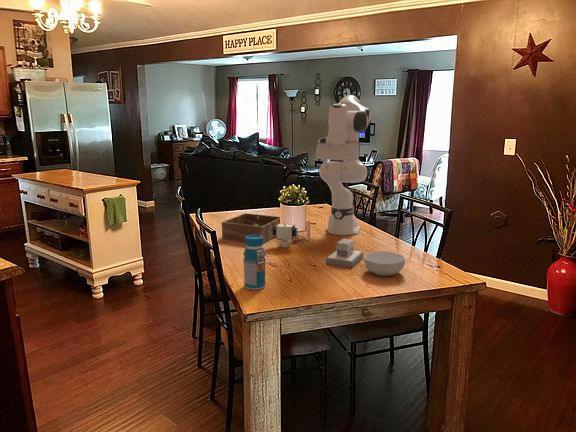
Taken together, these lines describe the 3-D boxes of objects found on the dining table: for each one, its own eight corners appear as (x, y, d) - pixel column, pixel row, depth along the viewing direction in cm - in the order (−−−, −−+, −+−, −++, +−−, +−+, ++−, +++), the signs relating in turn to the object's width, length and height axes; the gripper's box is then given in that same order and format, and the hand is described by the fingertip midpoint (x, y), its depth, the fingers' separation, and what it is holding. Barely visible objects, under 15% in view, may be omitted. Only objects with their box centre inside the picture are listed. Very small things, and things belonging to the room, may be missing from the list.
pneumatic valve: (295, 248, 232) (295, 225, 229) (272, 247, 234) (272, 223, 231) (297, 245, 237) (297, 222, 234) (275, 244, 239) (274, 221, 237)
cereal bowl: (372, 263, 210) (373, 248, 208) (409, 270, 202) (410, 254, 200) (357, 275, 196) (358, 259, 194) (396, 283, 187) (397, 266, 186)
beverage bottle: (243, 290, 179) (242, 239, 175) (244, 282, 188) (243, 233, 183) (265, 290, 180) (265, 239, 175) (265, 282, 188) (265, 233, 183)
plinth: (338, 253, 224) (338, 247, 223) (362, 257, 219) (363, 251, 218) (325, 263, 210) (326, 257, 209) (351, 267, 205) (352, 261, 204)
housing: (342, 251, 218) (343, 238, 217) (353, 252, 216) (353, 239, 215) (336, 255, 211) (337, 243, 210) (347, 257, 209) (347, 244, 208)
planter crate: (245, 228, 270) (245, 213, 268) (283, 233, 260) (283, 217, 258) (222, 238, 249) (221, 222, 247) (262, 244, 239) (261, 227, 237)
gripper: (361, 139, 217) (360, 170, 220) (319, 138, 226) (319, 167, 229) (356, 140, 211) (356, 171, 214) (314, 139, 220) (314, 169, 223)
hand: (336, 169), depth 222 cm, fingers open, 8 cm apart
